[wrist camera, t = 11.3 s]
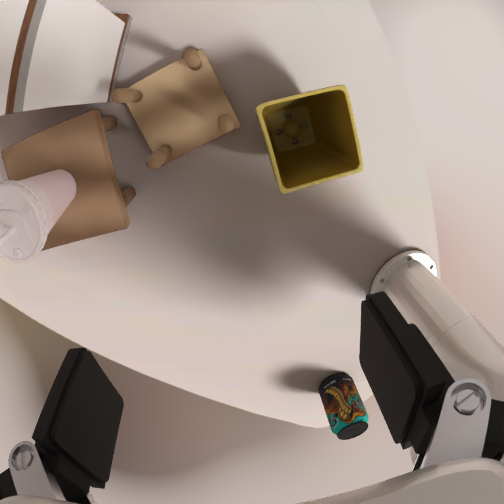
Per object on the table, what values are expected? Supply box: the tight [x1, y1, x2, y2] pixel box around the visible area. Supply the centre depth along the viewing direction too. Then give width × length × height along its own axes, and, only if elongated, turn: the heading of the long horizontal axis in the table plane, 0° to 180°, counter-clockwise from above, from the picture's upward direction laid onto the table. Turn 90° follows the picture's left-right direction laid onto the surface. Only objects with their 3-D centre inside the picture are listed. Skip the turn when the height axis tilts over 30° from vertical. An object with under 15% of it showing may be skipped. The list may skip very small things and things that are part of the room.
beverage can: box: [319, 374, 368, 440], centre depth 52 cm, size 7×7×12 cm
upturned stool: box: [111, 48, 241, 170], centre depth 28 cm, size 10×10×9 cm
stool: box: [1, 109, 136, 251], centre depth 30 cm, size 12×12×9 cm
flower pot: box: [256, 85, 363, 194], centre depth 31 cm, size 9×9×9 cm
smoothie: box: [0, 169, 76, 263], centre depth 20 cm, size 6×6×14 cm
